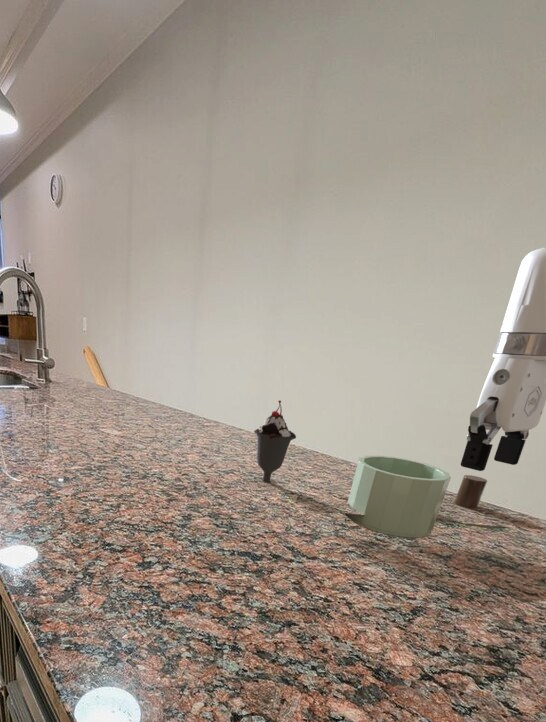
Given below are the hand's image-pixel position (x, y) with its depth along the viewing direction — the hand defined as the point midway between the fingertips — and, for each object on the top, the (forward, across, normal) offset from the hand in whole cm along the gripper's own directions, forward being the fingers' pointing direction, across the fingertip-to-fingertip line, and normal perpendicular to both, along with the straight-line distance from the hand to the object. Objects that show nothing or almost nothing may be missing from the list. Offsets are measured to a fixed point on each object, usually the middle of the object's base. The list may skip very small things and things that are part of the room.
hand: (488, 465), depth 69 cm
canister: (+8, -16, +4) cm, 19 cm away
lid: (+8, -1, +1) cm, 8 cm away
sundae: (+8, -26, +20) cm, 34 cm away
